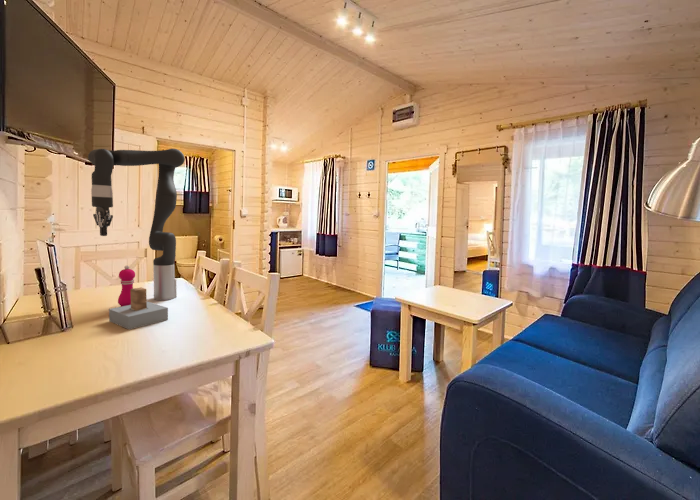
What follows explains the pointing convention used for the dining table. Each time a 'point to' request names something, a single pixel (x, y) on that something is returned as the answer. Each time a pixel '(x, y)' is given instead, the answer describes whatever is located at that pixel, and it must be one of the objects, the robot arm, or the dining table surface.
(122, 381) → the dining table surface
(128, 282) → the pepper mill
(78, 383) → the dining table surface
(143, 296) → the walnut peg
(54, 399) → the dining table surface
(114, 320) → the socket board
